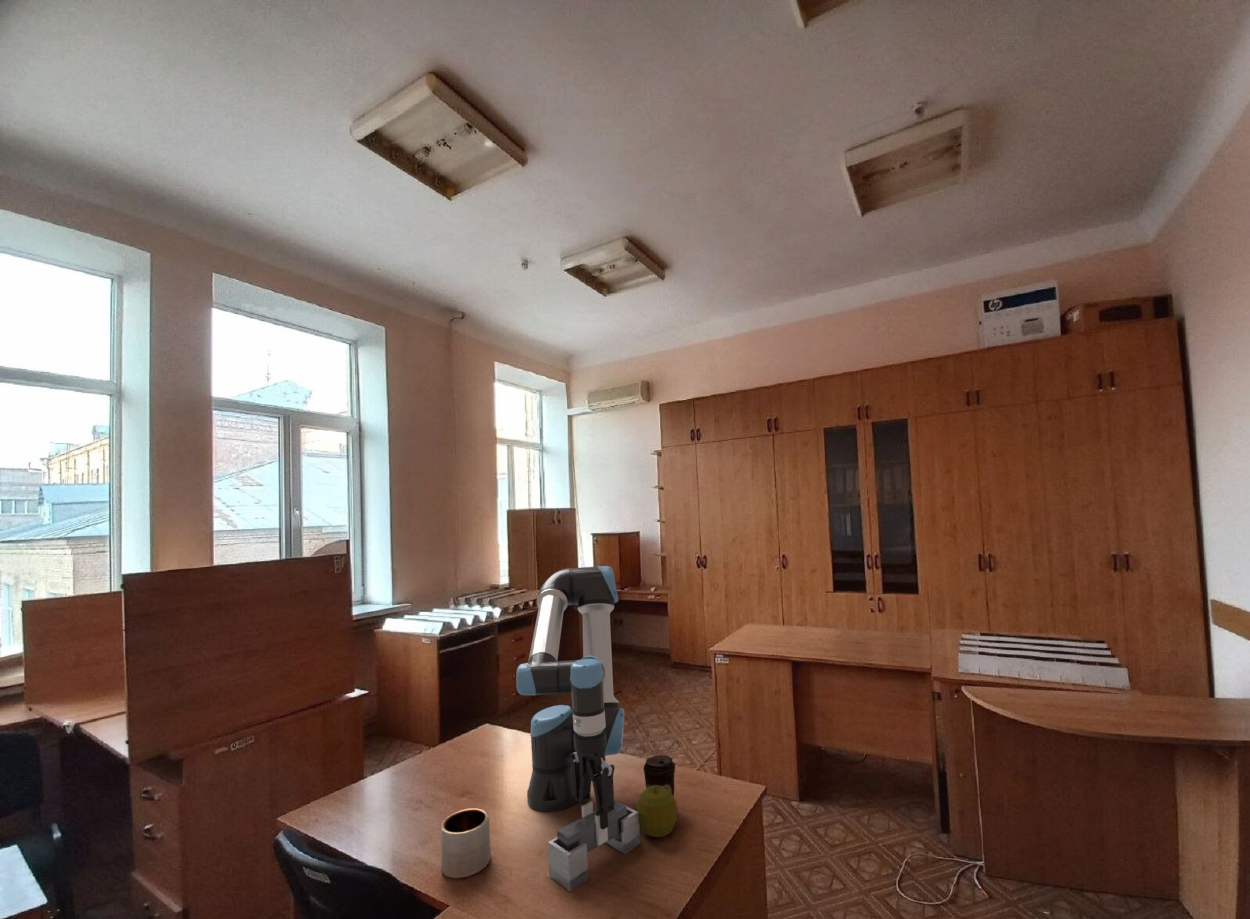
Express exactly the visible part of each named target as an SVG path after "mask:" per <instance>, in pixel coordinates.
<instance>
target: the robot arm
mask: <svg viewBox="0 0 1250 919" xmlns="http://www.w3.org/2000/svg"><path fill="white" fill-rule="evenodd" d="M617 602H619V597H618V591H617V586H616V579H615V575H614V569H613V568H612V567H611V566H610V565H609V566H608V565H604V566H602V565H597V566H584V567H573V568H572V567H567V568H563V569H560V570H558V571H556V572H554V573H553V574H552V575H550V577H548V579H546V580H545V582H543V584H542V585H541V587H540V589H539V591H538V592H537V597H536V606H537V608H538V610H537V616H536V620H535V625H534V626H535V627H534V630H533V635H532V640H531V646H530V651H529V657H528V662H525V663H520V664H519V665H518V666H517V668H516V674H515V675H516V677H515V683H516V684H515V685H516V690H517V693H518V694H519V695H520V696H538V695H539V696H541V695H551V694H566V693H567V694H568V693H569V694H570V693H571V703H572V706H569V705H565V704H558V705H553V706H550V707H546V708H543V709H542V710H540V711H538V712H536V713H535V714H534V715H533V716H532V718H531V721H530V734H529V736H530V742H531V763H532V771H531V772H532V773H531V776H530V780H529V784H528V789H527V791H526V797H527V798H526V799H527V801H526V802H527V804H528V807H530V808H531V809H533V810H536V811H541V812H556V811H560V810H564V809H567V808H569V807H571V806H573V805H575V804H577V802H578V804H579V806H580V817H581V818H583V817H585V816H587V815H589V814H591V813H593V812H594V807H593V805H594V804H593V801H591V800H593V797H592V796H591V790H592V789H591V788H592V787H593V793H594V800H595V804H596V811H598V812H596V813H595V821H596V839H597V845H598V847H600V846H601V844H602V845H604V844H605V843H604V842H606V841H608V831H607V827H608V813H609V812H611V811H612V810H614V802H615V794H614V790H615V789H614V773H615V770H616V769H615V766H614V764H610V765H609V763H608V762H607V759H606V757H607V756H613V755H618V754H620V753H621V751H622V749H623V740H624V726H625V709H624V708H622V707H620V701H619V700H618V699H617V698H616V697H615V695H614V678H613V676H614V675H613V656H612V638H611V637H612V636H611V635H612V634H611V612H613V610H614V609H615V603H617ZM576 605H577V611H578V612H579V614H581V616H582V644H583V645H582V649H583V652H582V653H583V656H582V658H581V659H576V660H575V659H573V660H559V661H558V659H559V650H560V642H561V634H562V627H563V619H564V612H565V611H566V609H567V608H568V606H576ZM571 707H572V708H571Z"/></svg>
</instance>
